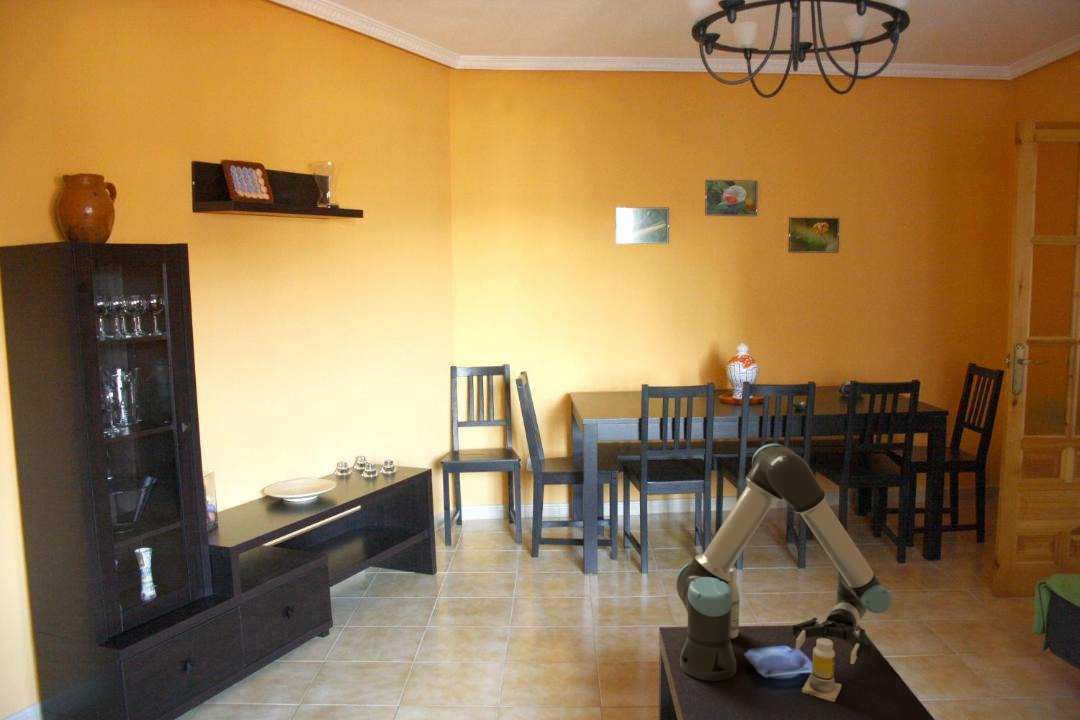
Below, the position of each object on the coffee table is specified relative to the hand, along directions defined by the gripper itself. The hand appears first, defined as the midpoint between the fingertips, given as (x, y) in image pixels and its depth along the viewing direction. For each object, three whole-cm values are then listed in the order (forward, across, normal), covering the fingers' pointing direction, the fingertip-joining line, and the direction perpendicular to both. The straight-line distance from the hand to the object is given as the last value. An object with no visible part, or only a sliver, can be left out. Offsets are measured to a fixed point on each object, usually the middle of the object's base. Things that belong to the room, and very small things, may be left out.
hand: (824, 651), depth 197 cm
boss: (-1, 0, -11) cm, 11 cm away
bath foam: (-17, +32, -11) cm, 38 cm away
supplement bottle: (-1, 0, -8) cm, 8 cm away
